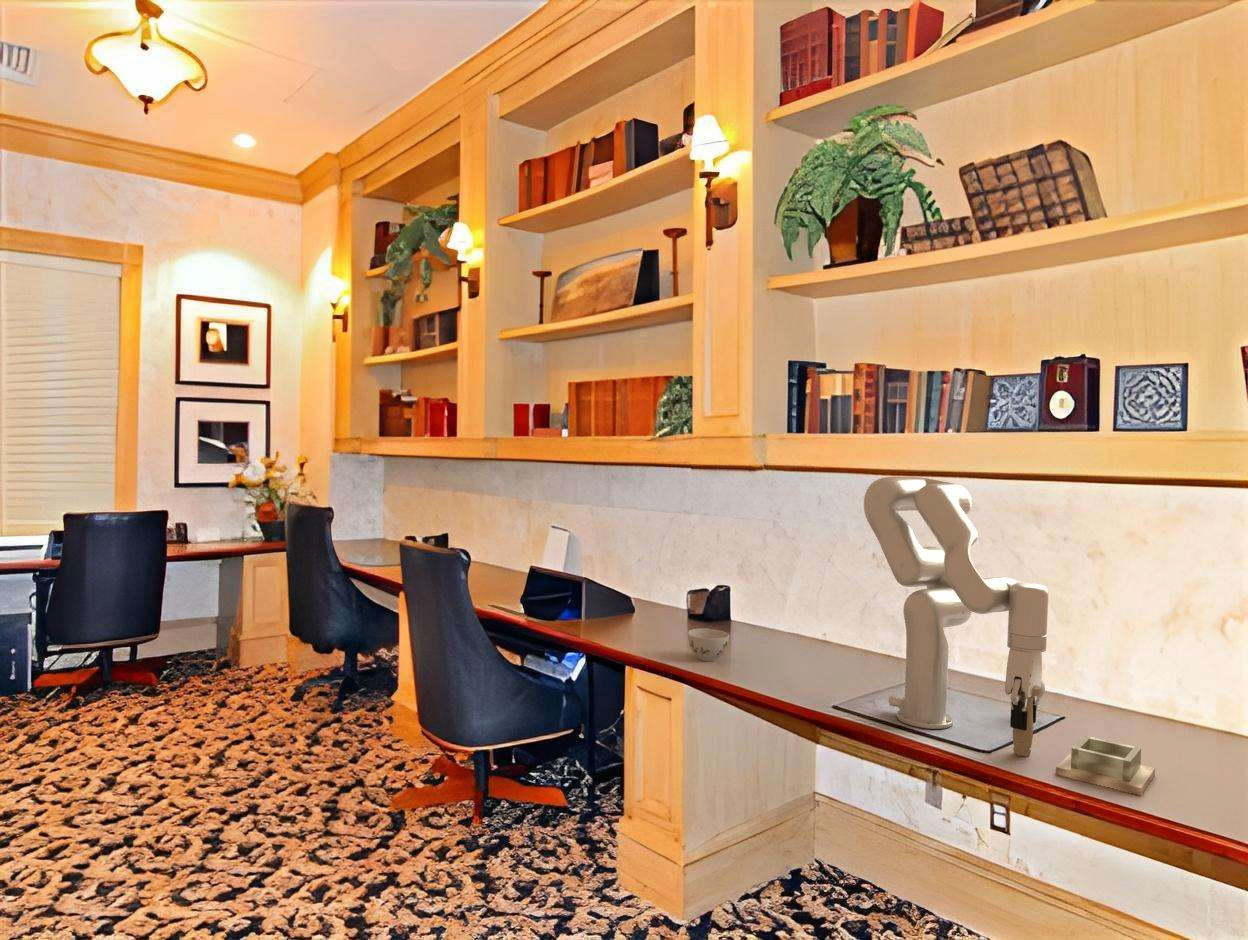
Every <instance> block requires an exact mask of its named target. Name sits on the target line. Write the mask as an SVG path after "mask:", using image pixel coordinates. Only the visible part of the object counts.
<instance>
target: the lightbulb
mask: <svg viewBox="0 0 1248 940" xmlns="http://www.w3.org/2000/svg"><path fill="white" fill-rule="evenodd" d="M1045 693H1046V686H1045V683H1044V681H1043V679H1041V694H1039V695H1037V703H1036V704H1034V705H1037V707H1036V711H1037V710H1038V707H1039V706H1038V705H1039V702H1040V700H1041V699H1042V697H1043V695H1044V694H1045Z"/></svg>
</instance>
